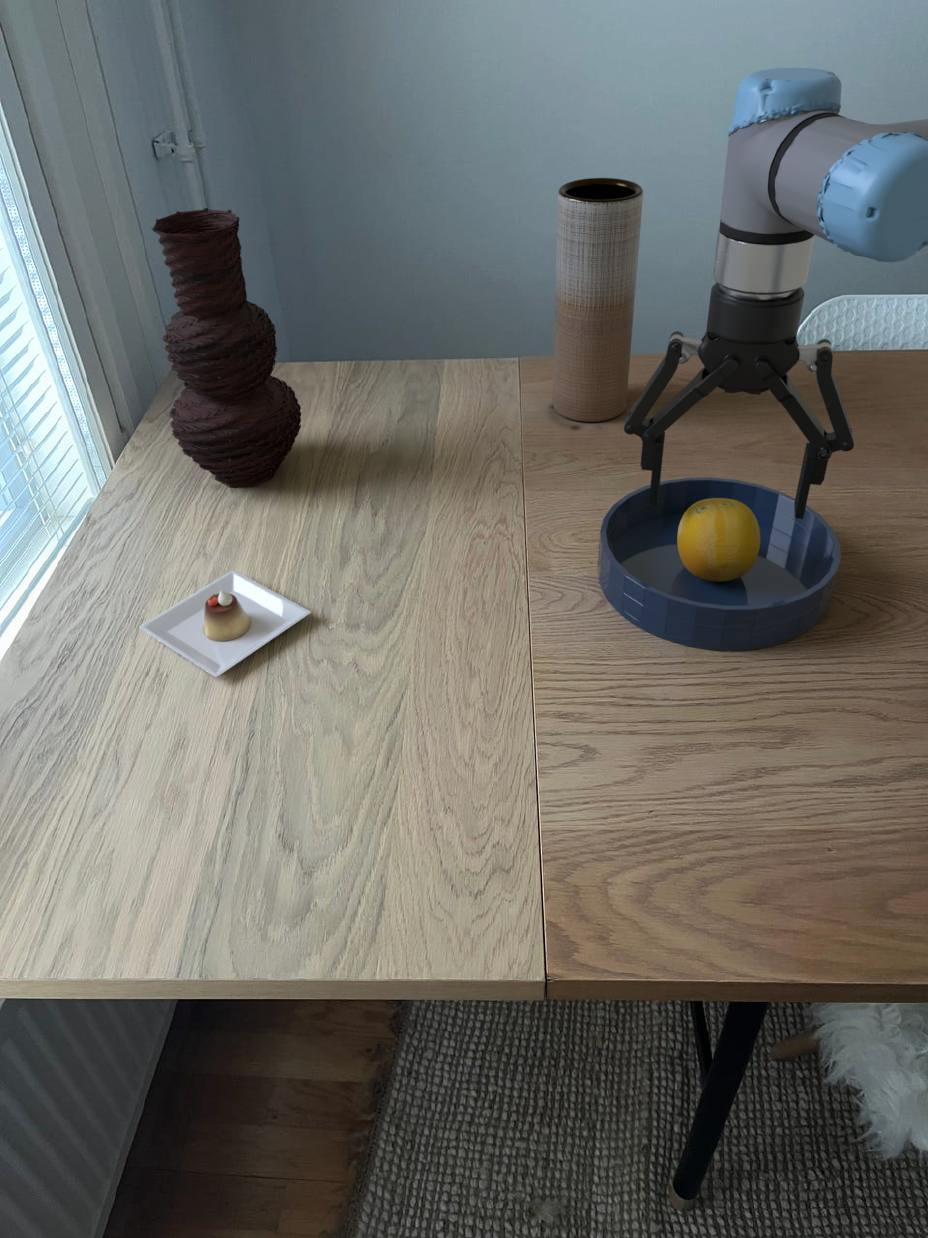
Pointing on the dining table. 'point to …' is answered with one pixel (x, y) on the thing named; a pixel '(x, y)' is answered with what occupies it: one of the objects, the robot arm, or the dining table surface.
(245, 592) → the dessert
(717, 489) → the bowl
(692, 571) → the fruit
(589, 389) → the tall ceramic vase
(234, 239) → the vase
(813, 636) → the dining table surface
